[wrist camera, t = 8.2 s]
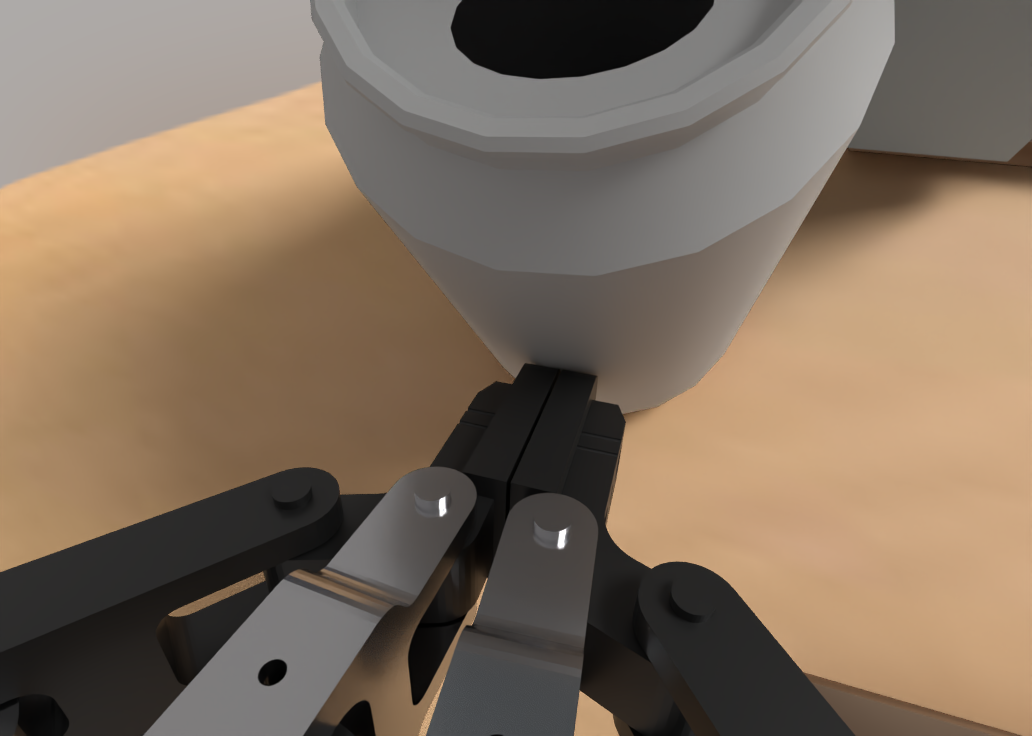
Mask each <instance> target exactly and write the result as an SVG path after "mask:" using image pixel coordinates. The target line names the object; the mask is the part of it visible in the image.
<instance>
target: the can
mask: <svg viewBox="0 0 1032 736" xmlns="http://www.w3.org/2000/svg"><path fill="white" fill-rule="evenodd" d="M310 3H311V15H312V21H313V22H314V24H315V26H316V28H317V30H318V32H319V34H320V35H321V37H322V39H323V41H324V43H323V46H322V50H321V54H320V66H321V78H322V89H323V101H324V113H325V124H326V126H327V128H328V130H329V132H330V134H331V136H332V138H333V140H334V142H335V144H336V146H337V148H338V150H339V152H340V154H341V156H342V158H343V160H344V162H345V164H346V166H347V168H348V170H349V172H350V174H351V176H352V178H353V180H354V182H355V184H356V186H357V188H358V189H359V190H360V191H361V193H362V194H363V195H364V196H365V197H366V199H367V200H368V201H369V202H370V204H371V205H372V206H373V207H374V209H375V210H376V211H377V212H378V214H379V215H380V216H381V217H382V218H383V220H384V221H385V222H386V223H387V225H388V226H389V227H390V228H391V230H392V231H393V232H394V233H395V234H396V236H397V237H398V238H399V239H400V241H401V242H402V243H403V244H404V246H405V247H406V248H407V249H408V250H409V252H410V253H411V254H412V255H413V257H414V258H415V259H416V260H417V262H418V263H419V264H420V265H421V266H422V268H423V269H424V270H425V271H426V273H427V274H428V275H429V276H430V278H431V279H432V280H433V281H434V282H435V284H436V285H437V286H438V287H439V289H440V290H441V291H442V292H443V294H444V295H445V296H446V297H447V299H448V300H449V301H450V302H451V303H452V305H453V306H454V307H455V308H456V310H457V311H458V312H459V313H460V315H461V316H462V317H463V318H464V319H465V321H466V322H467V323H468V324H469V326H470V327H471V328H472V329H473V331H474V332H475V333H476V334H477V335H478V337H479V338H480V339H481V340H482V342H483V343H484V344H485V345H486V347H487V348H488V349H489V350H490V351H491V353H492V354H493V355H494V356H495V358H496V359H497V360H498V361H499V363H500V364H501V365H502V366H503V367H504V368H505V369H506V370H507V371H508V372H509V373H510V374H511V375H512V376H513V377H514V378H515V379H516V377H517V375H518V373H519V372H520V370H521V368H522V367H523V365H524V364H525V363H529V364H535V365H540V366H545V367H551V368H557V369H560V371H562V370H568V371H574V372H579V373H585V374H590V375H596V376H598V385H597V393H596V401H601V402H606V403H611V404H617V405H619V407H620V410H621V412H622V414H625V413H630V412H635V411H640V410H645V409H650V408H655V407H658V406H659V405H661V404H663V403H665V402H667V401H668V400H670V399H672V398H674V397H676V396H677V395H679V394H681V393H683V392H685V391H687V390H688V389H690V388H692V387H694V386H695V385H696V384H697V383H698V382H699V381H700V380H701V379H702V378H703V376H704V375H705V374H706V373H707V372H708V371H709V370H710V369H711V368H712V367H713V366H714V365H715V363H716V362H717V361H718V360H719V359H720V358H721V357H722V356H723V355H724V353H725V352H726V350H727V348H728V347H729V345H730V343H731V342H732V340H733V338H734V336H735V335H736V333H737V331H738V330H739V328H740V326H741V325H742V323H743V321H744V320H745V318H746V316H747V315H748V313H749V311H750V310H751V308H752V306H753V305H754V303H755V301H756V300H757V298H758V296H759V295H760V293H761V291H762V289H763V288H764V286H765V284H766V283H767V281H768V279H769V278H770V276H771V274H772V273H773V271H774V269H775V268H776V266H777V264H778V263H779V261H780V259H781V258H782V256H783V254H784V253H785V251H786V249H787V247H788V246H789V244H790V242H791V241H792V239H793V237H794V236H795V234H796V232H797V231H798V229H799V227H800V226H801V224H802V222H803V221H804V219H805V217H806V216H807V214H808V212H809V211H810V209H811V207H812V206H813V204H814V202H815V200H816V199H817V197H818V195H819V194H820V192H821V190H822V189H823V187H824V185H825V184H826V182H827V180H828V179H829V177H830V175H831V174H832V172H833V170H834V169H835V167H836V165H837V164H838V162H839V160H840V158H841V157H842V155H843V153H844V152H845V150H846V148H847V147H848V145H849V143H850V142H851V140H852V138H853V137H854V135H855V133H856V132H857V130H858V128H859V127H860V124H861V122H862V120H863V117H864V115H865V112H866V110H867V108H868V105H869V103H870V101H871V98H872V96H873V93H874V91H875V89H876V86H877V84H878V82H879V79H880V77H881V74H882V72H883V70H884V67H885V65H886V62H887V60H888V58H889V55H890V53H891V51H892V48H893V46H894V43H895V15H894V0H310Z"/></svg>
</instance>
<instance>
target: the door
mask: <svg viewBox="0 0 1032 736" xmlns="http://www.w3.org/2000/svg"><path fill="white" fill-rule="evenodd" d="M894 15H895V43H894V46H893V48H892V51H891V53H890V55H889V58H888V60H887V62H886V65H885V67H884V70H883V72H882V74H881V77H880V79H879V82H878V84H877V86H876V89H875V91H874V93H873V96H872V98H871V101H870V103H869V105H868V108H867V110H866V112H865V115H864V117H863V120H862V122H861V124H860V127H859V128H858V130H857V132H856V133H855V135H854V137H853V138H852V140H851V142H850V143H849V145H848V147H847V148H856V149H867V150H879V151H890V152H901V153H913V154H924V155H935V156H947V157H958V158H970V159H981V160H992V161H1004V162H1008V161H1009V160H1010V159H1011V158H1012V157H1013V156H1014V155H1015V154H1016V153H1017V152H1018V151H1020V150H1021V149H1022V148H1023V147H1024V146H1025V145H1026V144H1027V143H1028V142H1029V141H1030V140H1031V139H1032V0H894Z"/></svg>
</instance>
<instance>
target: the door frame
mask: <svg viewBox="0 0 1032 736" xmlns="http://www.w3.org/2000/svg"><path fill="white" fill-rule="evenodd" d="M849 150H850V151H861V152H872V153H884V154H895V155H906V156H917V157H929V158H940V159H951V160H962V161H974V162H985V163H996V164H1007V165H1019V166H1030V167H1032V139H1031V140H1030V141H1029V142H1028V143H1027V144H1026V145H1025V146H1024V147H1023V148H1022V149H1021V150H1020V151H1018V152H1017V153H1016V154H1015V155H1014V156H1013V157H1012V158H1011V159H1010V160H1009V161H1008V162H1004V161H992V160H981V159H970V158H958V157H947V156H935V155H924V154H913V153H901V152H890V151H879V150H867V149H856V148H849ZM804 674H805V675H806V677H807V678H808V679H809V680H810V681H811V683H812V684H813V685H814V686H815V687H816V689H817V690H818V691H819V692H820V693H821V695H822V696H823V697H824V698H825V699H826V701H827V702H828V703H829V704H830V705H831V707H832V708H833V709H834V710H835V711H836V713H837V714H838V715H839V716H840V717H841V719H842V720H843V721H844V722H845V723H846V725H847V726H848V727H849V728H850V729H851V731H852V732H853V733H854V734H855V736H1021V735H1017V734H1014V733H1010V732H1007V731H1003V730H1000V729H997V728H993V727H990V726H986V725H983V724H979V723H976V722H972V721H969V720H965V719H962V718H959V717H955V716H952V715H948V714H945V713H941V712H938V711H934V710H931V709H928V708H924V707H921V706H917V705H914V704H910V703H907V702H903V701H900V700H896V699H893V698H890V697H886V696H883V695H879V694H876V693H872V692H869V691H865V690H862V689H858V688H855V687H852V686H848V685H845V684H841V683H838V682H834V681H831V680H827V679H824V678H821V677H817V676H814V675H810V674H807V673H804Z"/></svg>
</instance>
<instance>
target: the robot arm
mask: <svg viewBox="0 0 1032 736" xmlns="http://www.w3.org/2000/svg"><path fill="white" fill-rule="evenodd" d="M597 385H598V376H596V375H590V374H585V373H579V372H574V371H568V370H562V371H560V369H557V368H551V367H545V366H540V365H535V364H529V363H525V364H524V365H523V367H522V368H521V370H520V372H519V373H518V375H517V377H516V379H515V380H514V382H513V384H507V383H502V382H497V381H496V382H495V383H493V384H491V385H490V386H488V387H487V388H485V389H483V390H482V391H480V392H479V393H478V394H477V395H476V397H475V398H474V400H473V401H472V403H471V404H470V406H469V407H468V411H466V412H465V414H464V415H463V417H462V418H461V420H460V423H459V424H457V426H456V427H455V429H454V430H453V432H452V433H451V435H450V437H449V438H448V440H447V441H446V443H445V444H444V446H443V447H442V449H441V450H440V452H439V453H438V455H437V456H436V458H435V460H434V461H433V463H432V464H431V466H430V467H427V468H422V469H418V470H415V471H412V472H410V473H408V474H406V475H405V476H403V477H402V478H401V479H399V480H398V481H397V482H396V483H395V484H394V486H393V487H392V488H391V489H390V490H389V492H388V493H383V494H349V495H340V490H339V485H338V483H337V480H336V479H335V478H334V477H333V476H332V475H331V474H329V473H328V472H326V471H324V470H320V469H317V468H306V467H303V468H294V469H289V470H285V471H282V472H279V473H276V474H273V475H270V476H268V477H265V478H262V479H259V480H256V481H254V482H251V483H248V484H245V485H242V486H240V487H237V488H234V489H231V490H229V491H226V492H223V493H220V494H217V495H215V496H212V497H209V498H206V499H203V500H201V501H198V502H195V503H192V504H190V505H187V506H184V507H181V508H178V509H176V510H173V511H170V512H167V513H164V514H162V515H159V516H156V517H153V518H150V519H148V520H145V521H142V522H139V523H137V524H134V525H131V526H128V527H125V528H123V529H120V530H117V531H114V532H111V533H109V534H106V535H103V536H100V537H98V538H95V539H92V540H89V541H86V542H84V543H81V544H78V545H75V546H72V547H70V548H67V549H64V550H61V551H58V552H56V553H53V554H50V555H47V556H45V557H42V558H39V559H36V560H33V561H31V562H28V563H25V564H22V565H19V566H17V567H14V568H11V569H8V570H6V571H3V572H0V736H419V732H420V729H421V726H422V723H423V720H424V718H425V716H426V713H427V711H428V709H429V707H430V705H431V703H432V701H433V699H434V697H435V695H436V693H437V691H438V689H439V687H440V685H441V683H442V682H443V680H444V678H445V680H444V683H443V686H442V689H441V692H440V695H439V698H438V701H437V704H436V707H435V710H434V713H433V716H432V719H431V722H430V725H429V728H428V731H427V734H426V736H574V729H575V721H576V713H577V706H578V698H579V690H580V691H582V692H583V693H584V694H586V695H587V696H589V697H590V698H591V699H593V700H594V701H596V702H597V703H598V704H600V705H601V706H603V707H604V708H605V709H607V710H608V711H610V712H611V713H612V714H613V719H614V723H615V726H616V729H617V731H618V734H619V736H855V734H854V733H853V732H852V731H851V729H850V728H849V727H848V726H847V725H846V723H845V722H844V721H843V720H842V719H841V717H840V716H839V715H838V714H837V713H836V711H835V710H834V709H833V708H832V707H831V705H830V704H829V703H828V702H827V701H826V699H825V698H824V697H823V696H822V695H821V693H820V692H819V691H818V690H817V689H816V687H815V686H814V685H813V684H812V683H811V681H810V680H809V679H808V678H807V677H806V675H805V674H804V673H803V672H802V670H801V669H800V668H799V667H798V666H797V664H796V663H795V662H794V661H793V660H792V658H791V657H790V656H789V655H788V654H787V652H786V651H785V650H784V649H783V648H782V646H781V645H780V644H779V643H778V642H777V640H776V639H775V638H774V637H773V636H772V634H771V633H770V632H769V631H768V630H767V628H766V627H765V626H764V625H763V624H762V622H761V621H760V620H759V619H758V618H757V616H756V615H755V614H754V613H753V611H752V610H751V609H750V608H749V607H748V605H747V604H746V603H745V602H744V601H743V599H742V598H741V597H740V596H739V595H738V593H737V592H736V591H735V590H734V589H733V588H732V587H731V586H730V584H729V583H728V582H726V581H725V580H724V579H723V578H722V577H720V576H719V575H717V574H716V573H714V572H713V571H711V570H709V569H707V568H704V567H702V566H699V565H696V564H692V563H687V562H668V563H663V564H660V565H658V566H656V567H654V568H652V569H651V568H649V567H647V566H645V565H644V564H642V563H640V562H638V561H636V560H635V559H633V558H631V557H630V556H628V555H627V554H626V553H624V552H623V551H622V550H621V549H620V548H619V547H618V546H617V545H616V544H615V543H614V541H613V540H612V539H611V537H610V535H609V533H608V531H607V528H606V524H607V519H608V514H609V510H610V505H611V500H612V496H613V492H614V487H615V483H616V477H617V471H618V465H619V459H620V453H621V447H622V441H623V435H624V429H625V423H626V421H625V419H624V417H623V414H622V412H621V410H620V407H619V405H617V404H611V403H606V402H601V401H596V393H597ZM262 571H263V573H264V576H265V580H266V581H264V582H262V583H259V584H257V585H255V586H253V587H250V588H248V589H246V590H244V591H242V592H239V593H237V594H235V595H233V596H230V597H228V598H226V599H224V600H221V601H219V602H217V603H215V604H212V605H210V606H208V607H206V608H204V609H201V610H199V611H197V612H195V613H192V614H190V615H186V616H181V617H173V616H169V615H168V614H169V613H171V612H172V611H174V610H176V609H178V608H180V607H182V606H185V605H187V604H189V603H191V602H194V601H196V600H198V599H201V598H203V597H205V596H207V595H210V594H212V593H214V592H216V591H219V590H221V589H223V588H226V587H228V586H230V585H232V584H235V583H237V582H239V581H242V580H244V579H246V578H248V577H251V576H253V575H255V574H258V573H260V572H262ZM486 578H488V580H487V583H486V586H485V589H484V592H483V595H482V599H481V602H480V605H479V608H478V611H477V614H476V610H477V599H478V597H479V595H480V593H481V590H482V588H483V585H484V583H485V581H486ZM475 615H476V617H475ZM474 618H475V620H474ZM473 620H474V622H473ZM472 622H473V624H472ZM471 624H472V626H471ZM445 676H446V677H445Z"/></svg>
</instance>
